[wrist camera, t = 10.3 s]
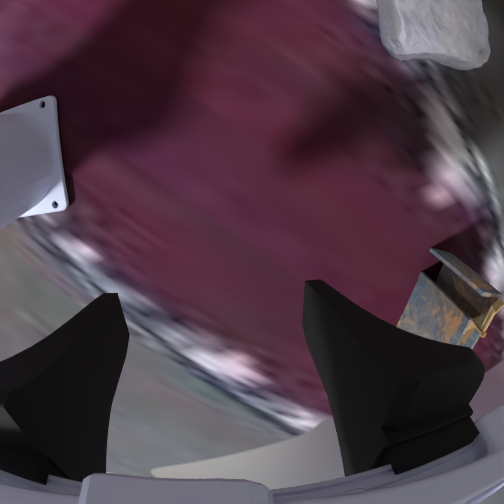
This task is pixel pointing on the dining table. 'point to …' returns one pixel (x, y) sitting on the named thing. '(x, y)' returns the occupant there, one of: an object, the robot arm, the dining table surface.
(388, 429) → the robot arm
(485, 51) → the stone block
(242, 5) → the dining table surface
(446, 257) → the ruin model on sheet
